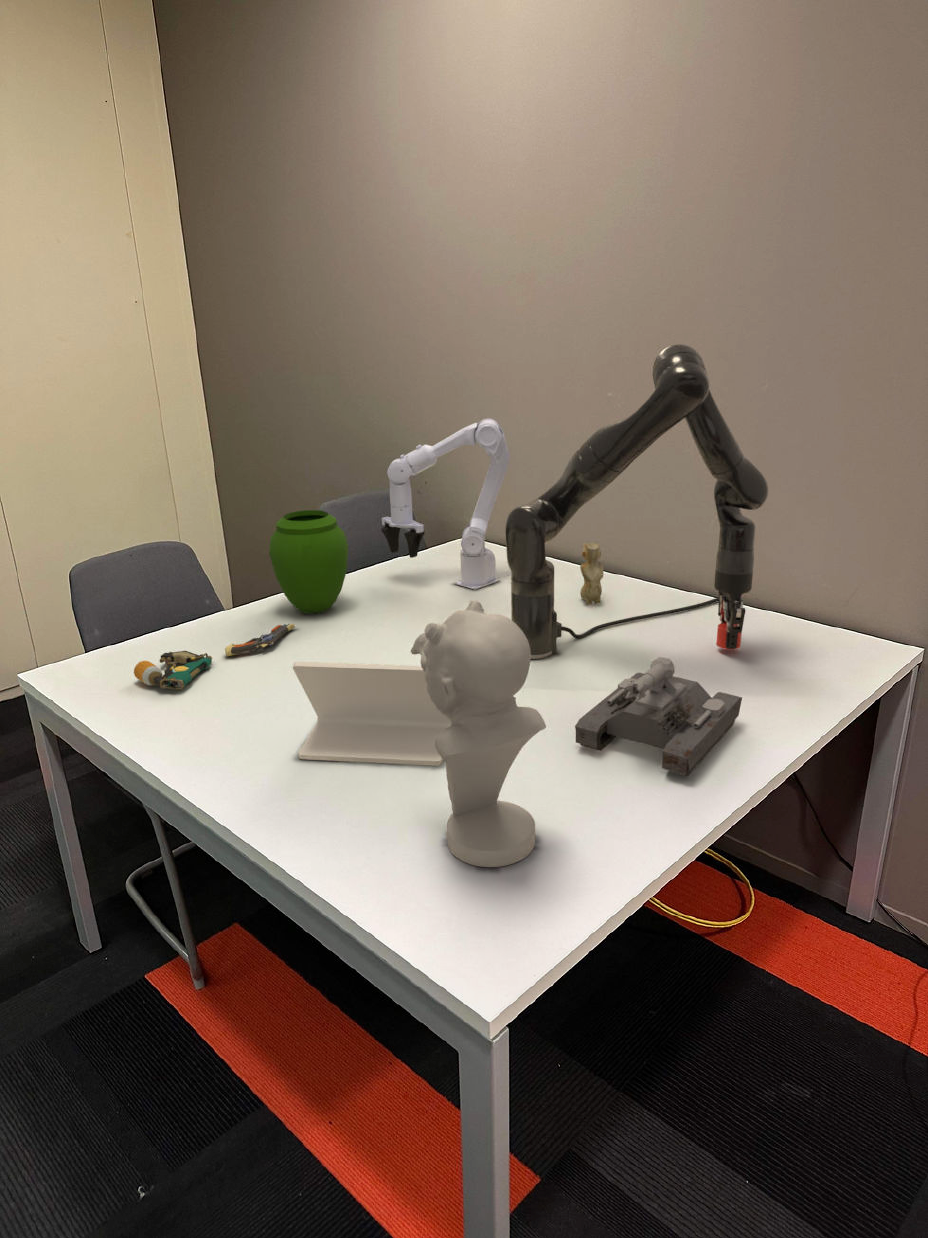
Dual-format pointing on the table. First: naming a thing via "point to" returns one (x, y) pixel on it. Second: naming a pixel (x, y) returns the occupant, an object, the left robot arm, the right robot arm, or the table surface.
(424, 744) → the tablet stand
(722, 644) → the can
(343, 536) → the vase
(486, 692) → the bust sculpture
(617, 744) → the table surface
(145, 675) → the multicoloured piece
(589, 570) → the sculpture
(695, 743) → the toy
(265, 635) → the toy gun
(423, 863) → the table surface
